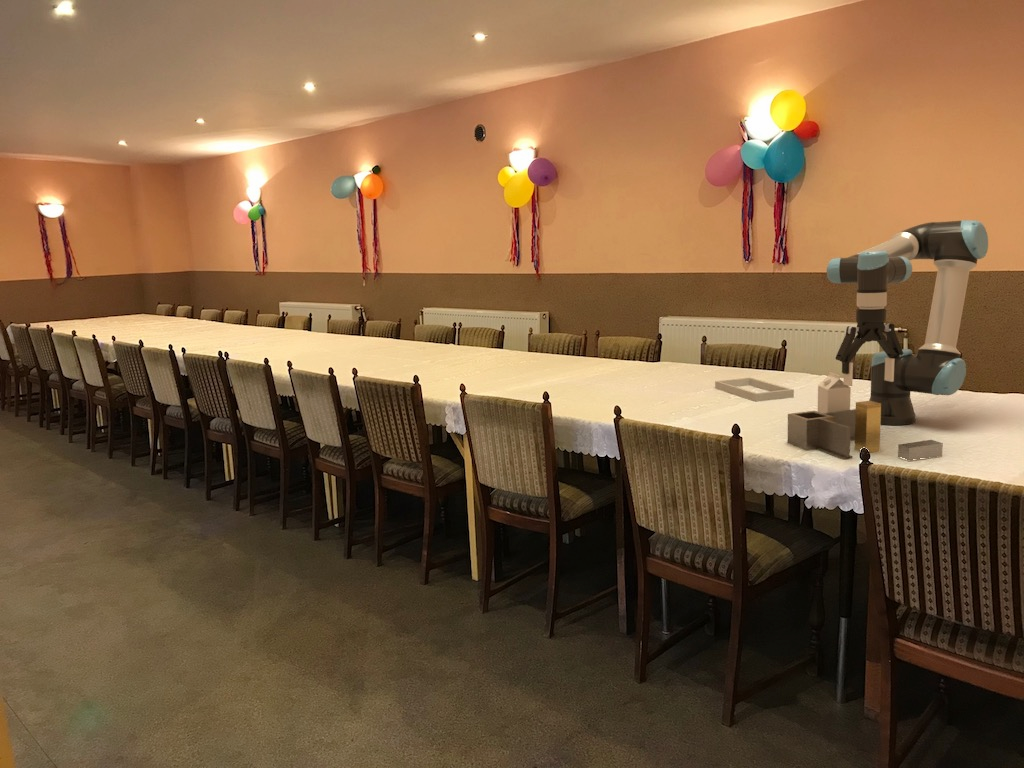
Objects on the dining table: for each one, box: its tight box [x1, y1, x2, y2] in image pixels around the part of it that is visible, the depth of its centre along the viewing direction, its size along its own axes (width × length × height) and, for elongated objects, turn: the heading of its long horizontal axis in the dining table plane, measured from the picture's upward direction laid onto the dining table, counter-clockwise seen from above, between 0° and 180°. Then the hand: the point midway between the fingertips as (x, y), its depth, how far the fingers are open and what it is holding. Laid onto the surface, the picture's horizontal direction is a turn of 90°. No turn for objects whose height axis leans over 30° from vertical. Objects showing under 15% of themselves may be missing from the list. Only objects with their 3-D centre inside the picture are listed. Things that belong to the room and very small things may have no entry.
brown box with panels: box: [787, 408, 856, 461], centre depth 219 cm, size 21×21×9 cm
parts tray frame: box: [714, 377, 795, 403], centre depth 300 cm, size 16×30×3 cm, turn 14°
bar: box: [897, 439, 943, 460], centre depth 206 cm, size 11×4×4 cm, turn 105°
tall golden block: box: [854, 400, 881, 454], centre depth 213 cm, size 5×5×14 cm
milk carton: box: [817, 371, 852, 413], centre depth 233 cm, size 7×7×19 cm
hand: (868, 383), depth 211 cm, fingers open, 13 cm apart
